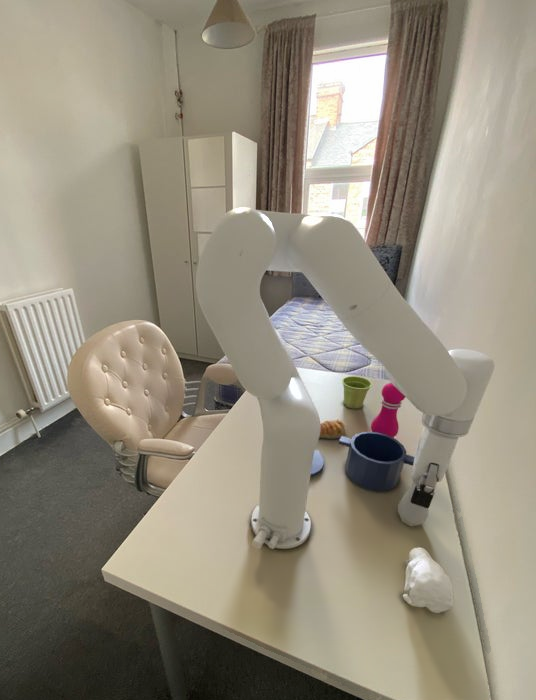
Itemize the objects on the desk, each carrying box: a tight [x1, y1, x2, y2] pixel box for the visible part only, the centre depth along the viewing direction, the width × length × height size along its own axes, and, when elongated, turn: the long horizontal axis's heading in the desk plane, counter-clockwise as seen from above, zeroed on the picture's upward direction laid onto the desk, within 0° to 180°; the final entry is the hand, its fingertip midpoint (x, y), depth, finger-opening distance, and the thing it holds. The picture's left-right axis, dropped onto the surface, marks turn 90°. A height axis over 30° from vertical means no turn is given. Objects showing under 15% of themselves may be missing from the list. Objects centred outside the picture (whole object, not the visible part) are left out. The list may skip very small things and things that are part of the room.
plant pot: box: [341, 375, 373, 409], centre depth 113 cm, size 9×9×9 cm
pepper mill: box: [370, 382, 406, 439], centre depth 92 cm, size 7×7×20 cm
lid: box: [310, 448, 325, 477], centre depth 88 cm, size 14×14×6 cm
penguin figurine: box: [402, 546, 455, 614], centre depth 57 cm, size 6×8×12 cm
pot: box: [338, 431, 415, 492], centre depth 83 cm, size 13×18×8 cm
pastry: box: [319, 419, 347, 440], centre depth 99 cm, size 9×7×4 cm
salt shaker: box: [397, 472, 429, 527], centre depth 69 cm, size 6×6×13 cm
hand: (421, 489), depth 68 cm, fingers open, 9 cm apart
